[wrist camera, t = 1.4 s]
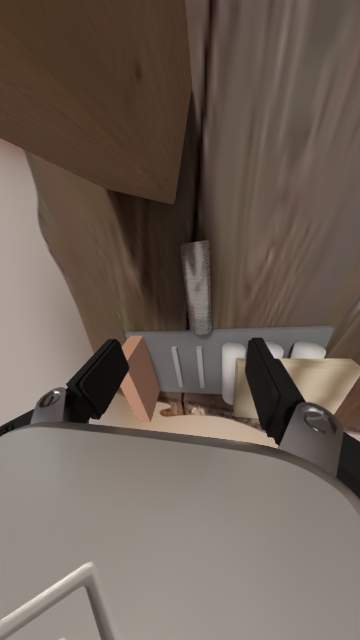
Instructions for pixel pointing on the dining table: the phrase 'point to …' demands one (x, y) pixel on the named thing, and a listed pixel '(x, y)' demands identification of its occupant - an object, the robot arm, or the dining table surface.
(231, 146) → the dining table surface
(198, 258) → the roller
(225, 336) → the roller bed
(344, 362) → the slab
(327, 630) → the robot arm
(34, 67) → the wooden block
